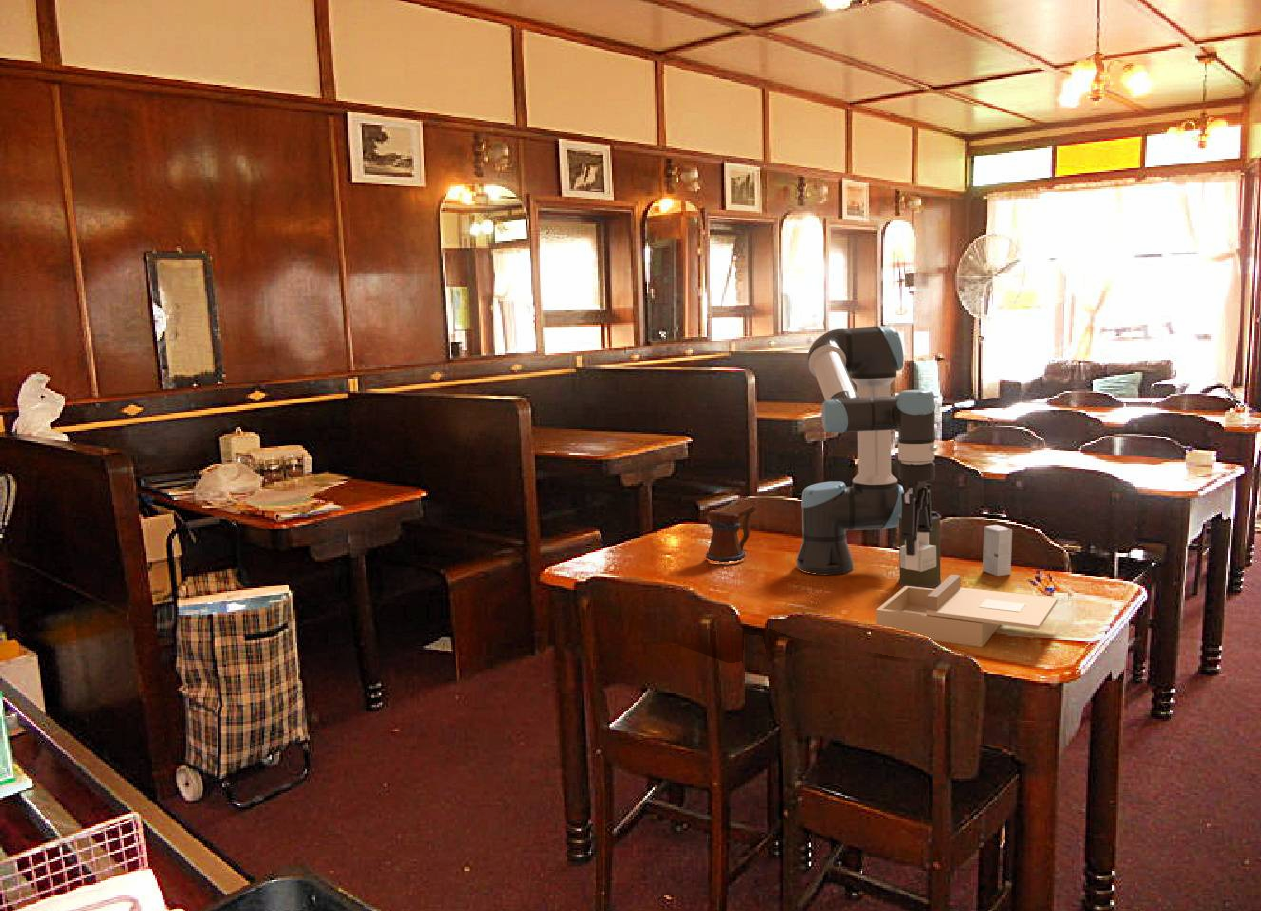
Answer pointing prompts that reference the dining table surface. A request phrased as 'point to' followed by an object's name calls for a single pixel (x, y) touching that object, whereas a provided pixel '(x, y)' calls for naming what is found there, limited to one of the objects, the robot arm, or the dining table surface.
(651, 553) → the dining table surface
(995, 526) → the skincare box
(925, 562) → the small box
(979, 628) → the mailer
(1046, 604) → the lid
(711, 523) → the mug
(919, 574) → the canister
